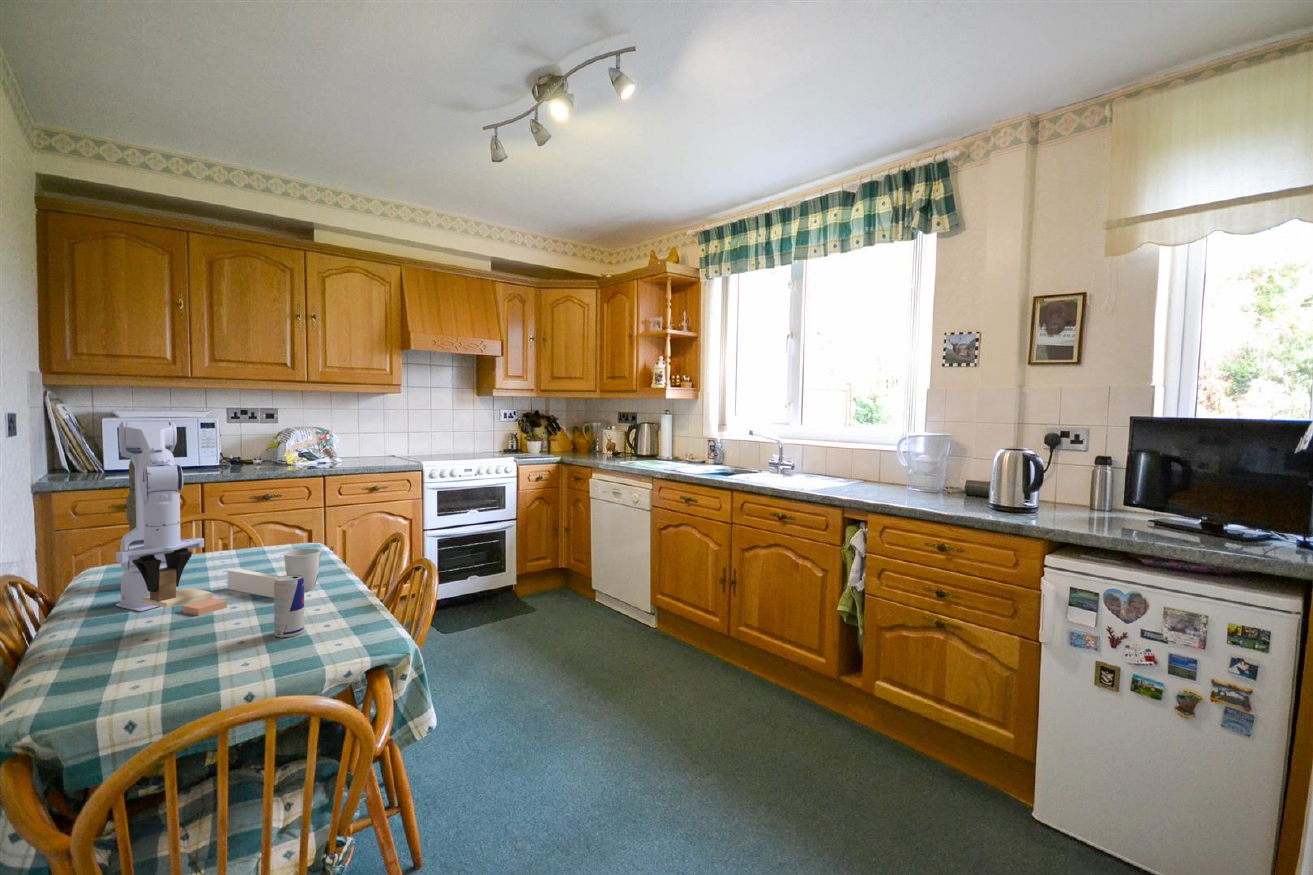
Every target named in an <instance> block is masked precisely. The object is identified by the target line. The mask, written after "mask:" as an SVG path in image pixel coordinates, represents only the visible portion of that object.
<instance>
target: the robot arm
mask: <svg viewBox="0 0 1313 875" xmlns="http://www.w3.org/2000/svg"><path fill="white" fill-rule="evenodd" d="M177 432H178V431H177V425H176V423H175V422H173V421H169V422H168V421H164V422H163V421H154V422H153V421H125V420H124V421H123V420H122V421H121V422H120V423H119V424H118V444H119V454H120V456H121V457H124V458H127V459H130V461H131V460H132V462H133V464H134V467H135V494H136V528H135V529H133V530H132V531H130V532H129V531H128V532H127V533H126V534H124V535H123V536H122V538H121V539H120V546H119V547H120V548H119V550H120V551H116V552H115V562H116V563H120V567H121V569H122V570H125V571H124V572H123V573H122V574H121V578H120V603H116V604H115V606H116V607H119V608H124V609H128V610H132V611H135V612H143V611H147V610H151V609H154V608H155V609H156V608H159V606H155V605H150V604H146V603H142V598H144V597H149V596H150V592H157V591H158V587H159V584H158V574H159V569H162V568H167V567H168V568H173V569H177V571H176V588H177V587H179V584H180V580H181V577H182V574H183V571H184V570H185V567H186V565H187V564H188V562H189V561H190V559H191V558H192V553H193V552H192V551H189V550H191V549H201V548H205V538H203V537H194V538H188V539H187V538H186V539H181V496H180V495H181V493H182V492H183V489H184V488H183V487H184V471H183V469H182V466H181V464H179V463H176V460H175V456H174V453H173V452H174V451H175V447H176V445H177V442H178V435H177V434H178V433H177ZM178 491H179V492H178ZM136 540H144V541H140V542H133V541H136ZM127 569H128V570H127Z"/></svg>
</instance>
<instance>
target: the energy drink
mask: <svg viewBox="0 0 1313 875" xmlns="http://www.w3.org/2000/svg"><path fill="white" fill-rule="evenodd" d="M279 576H280V577H278V578H276V579H275V582H274V598H273V604H274V606H273V610H274V612H273V614H274V617H273V619H274V620H273V622H274V623H273V625H274V627H273V628H274V630H273V631H274V636H275V637H276V636H277V638H279V637H280V638H281V639H283V638H284V637H287V638H291V637H292V636H293V637H296V636H298V635H301V634H302V633H303V632H304V631H305V592H304V578H303V575H299V574H292V575H287V574H285V575H279ZM300 633H301V634H300Z"/></svg>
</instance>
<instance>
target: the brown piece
mask: <svg viewBox="0 0 1313 875" xmlns="http://www.w3.org/2000/svg"><path fill="white" fill-rule="evenodd" d="M176 571H177V569H173V568H168V567H167V568H162V569H159V574H158V584H159V587H158V591H157V592H150V596H149V597H144V598H142V603H146V604H150V605H155V606H159V607H160V608H163V609H164V608H165V609H168V608H173V607H177V606H182V605H185V604H189V603H193V602H196V601H200V600H204V599H207V598H213V592H211V591H209V590H208V591H207V590H202V589H199V588H198V589H197V588H191V587H187V588H181V589H177V587H176ZM159 607H158V608H159Z"/></svg>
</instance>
